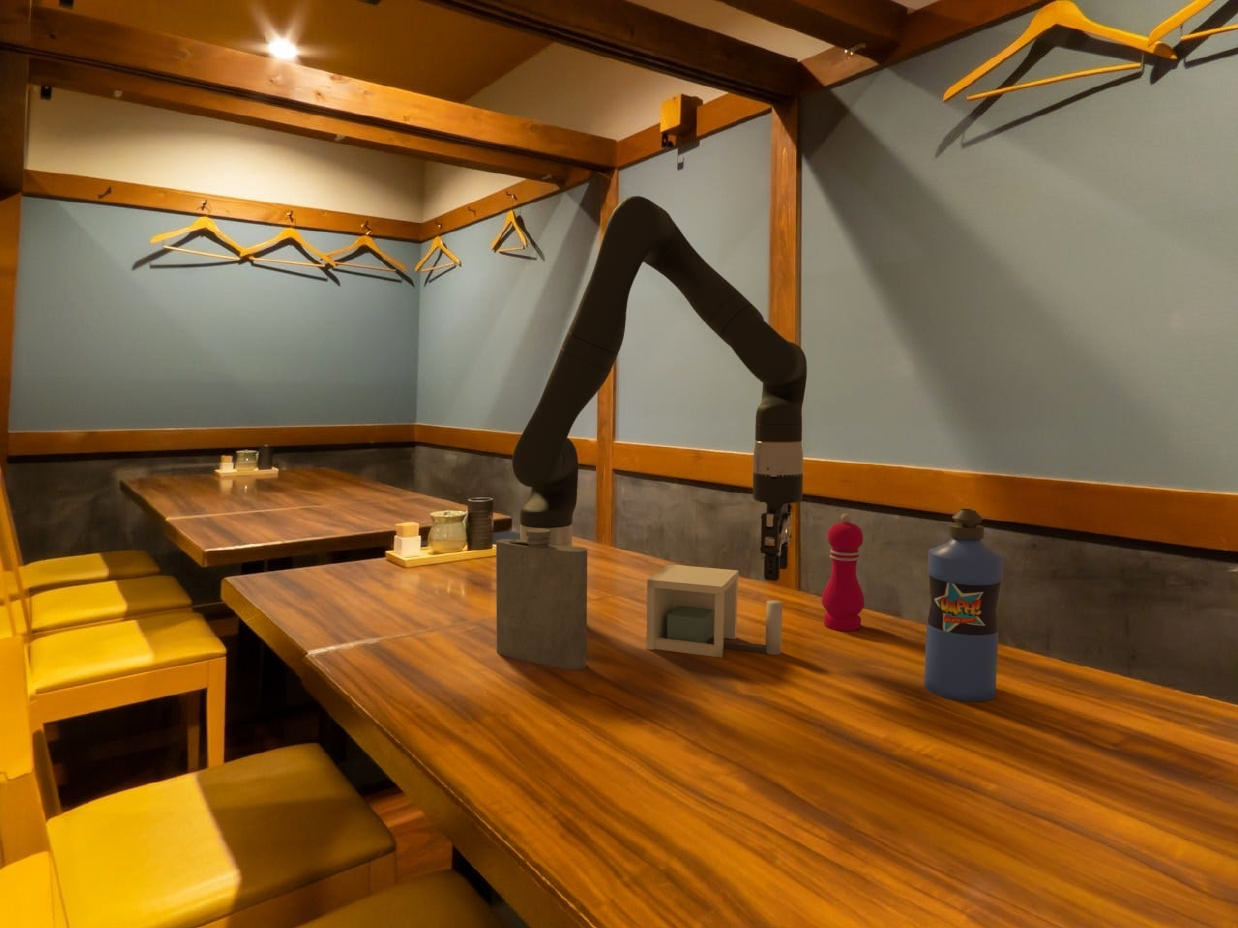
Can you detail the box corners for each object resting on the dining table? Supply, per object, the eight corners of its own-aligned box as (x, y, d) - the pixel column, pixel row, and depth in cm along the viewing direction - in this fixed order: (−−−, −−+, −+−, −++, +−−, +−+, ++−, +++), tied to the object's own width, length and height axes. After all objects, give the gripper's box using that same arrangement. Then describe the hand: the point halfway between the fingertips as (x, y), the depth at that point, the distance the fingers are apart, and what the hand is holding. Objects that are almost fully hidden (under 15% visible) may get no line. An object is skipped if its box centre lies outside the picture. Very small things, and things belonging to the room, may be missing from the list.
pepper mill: (865, 633, 131) (870, 517, 129) (822, 630, 132) (826, 515, 131) (861, 621, 138) (865, 511, 136) (819, 618, 139) (823, 509, 138)
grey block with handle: (667, 645, 124) (667, 596, 123) (677, 634, 129) (678, 588, 128) (777, 659, 117) (779, 607, 117) (783, 647, 123) (785, 598, 122)
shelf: (646, 648, 122) (647, 579, 121) (668, 628, 133) (669, 564, 132) (720, 658, 117) (722, 586, 116) (737, 636, 129) (738, 570, 128)
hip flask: (590, 664, 114) (591, 531, 113) (575, 672, 111) (576, 536, 109) (505, 646, 122) (504, 522, 120) (488, 654, 118) (488, 526, 117)
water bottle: (992, 707, 100) (1002, 516, 97) (916, 692, 104) (924, 510, 102) (1000, 685, 107) (1009, 508, 105) (929, 672, 112) (937, 503, 110)
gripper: (761, 466, 126) (760, 563, 127) (744, 473, 113) (743, 582, 114) (808, 467, 123) (806, 566, 125) (796, 475, 110) (794, 586, 111)
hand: (776, 574), depth 119 cm, fingers open, 8 cm apart
